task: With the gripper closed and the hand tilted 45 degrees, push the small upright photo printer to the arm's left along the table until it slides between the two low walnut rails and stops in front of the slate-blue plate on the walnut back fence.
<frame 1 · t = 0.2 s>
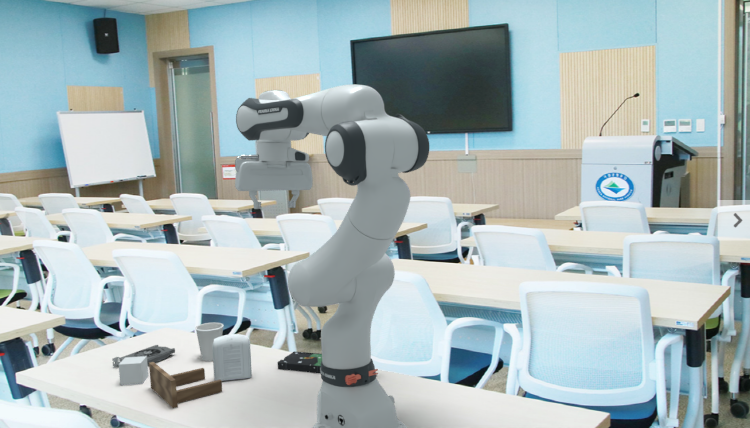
hand: (274, 208, 173), 47 cm above the table, tool pointing down, fingers open, 8 cm apart
dixie cup: (211, 358, 202), on the table
chalk box: (350, 377, 181), on the table
grey cube: (134, 381, 185), on the table
dock: (188, 390, 176), on the table
photo printer: (233, 379, 184), on the table
graphics card: (148, 364, 201), on the table
disk drive: (308, 368, 192), on the table
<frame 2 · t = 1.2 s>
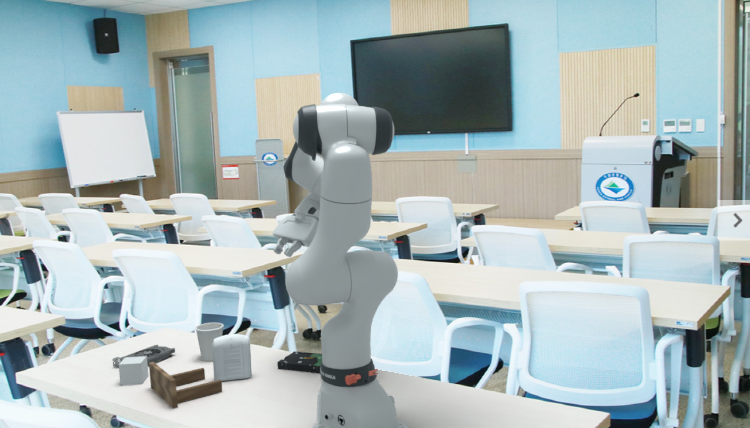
hand: (281, 254, 184), 33 cm above the table, tool tilted 45°, fingers open, 5 cm apart
nothing on the table moved.
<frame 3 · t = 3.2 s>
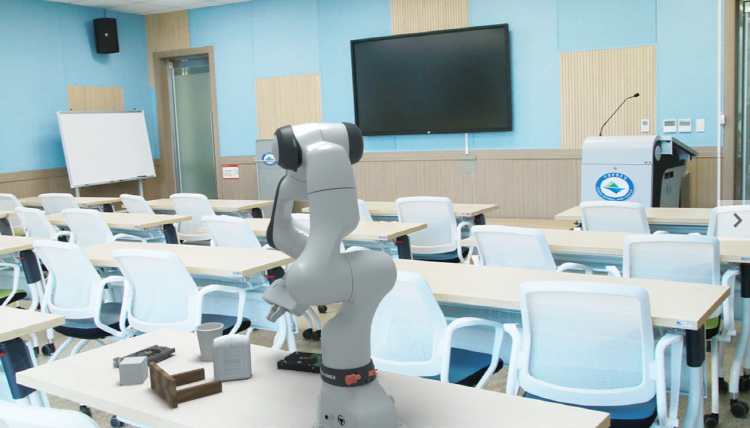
hand: (269, 320, 189), 14 cm above the table, tool tilted 45°, fingers closed
nothing on the table moved.
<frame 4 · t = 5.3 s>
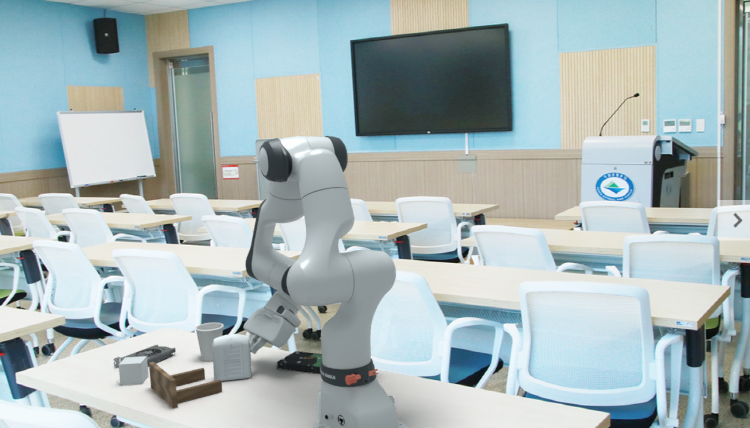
hand: (250, 351, 187), 6 cm above the table, tool tilted 45°, fingers closed
photo printer: (233, 379, 184), on the table, touching gripper
everything else where it was.
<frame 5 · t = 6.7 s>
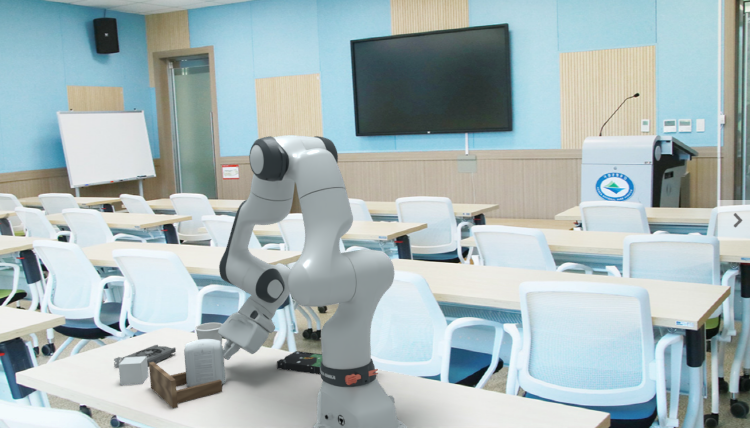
hand: (223, 357, 182), 6 cm above the table, tool tilted 45°, fingers closed
photo printer: (206, 384, 180), on the table, touching gripper
everything else where it was.
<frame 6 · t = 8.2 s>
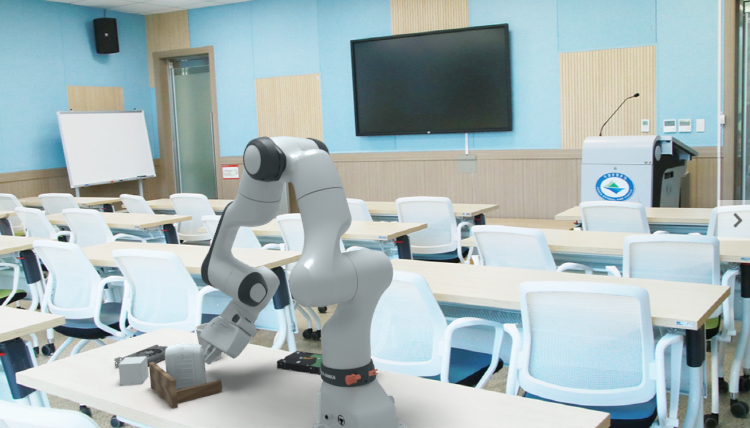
hand: (205, 362, 179), 6 cm above the table, tool tilted 45°, fingers closed
photo printer: (187, 389, 177), on the table, touching gripper
everything else where it was.
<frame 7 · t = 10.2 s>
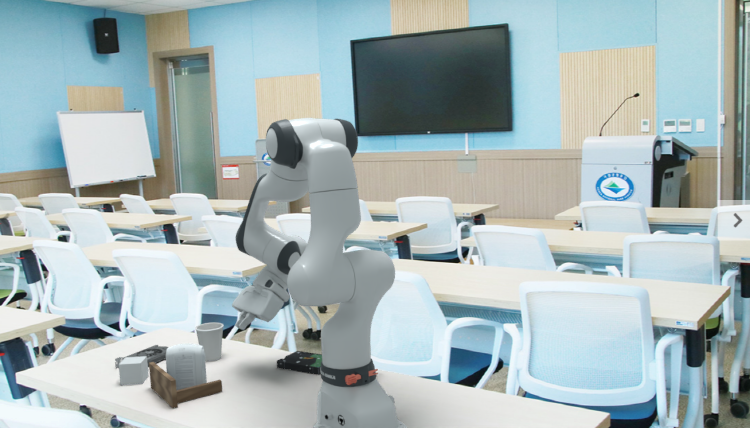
hand: (238, 327, 182), 14 cm above the table, tool tilted 45°, fingers closed
photo printer: (187, 389, 177), on the table
everything else where it was.
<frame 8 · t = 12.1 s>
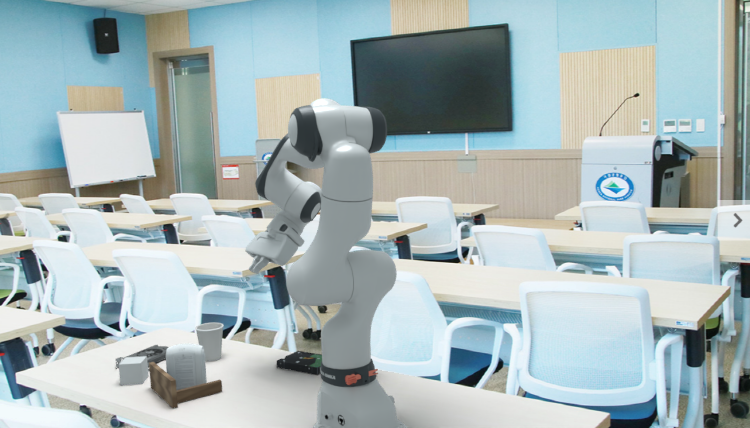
hand: (252, 271, 182), 29 cm above the table, tool tilted 45°, fingers closed
nothing on the table moved.
at the end: photo printer inside the target area on the dock (1.6 cm from its centre), point 0.0 cm above the dock's base; photo printer tilted 0°; the gripper is holding nothing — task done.
